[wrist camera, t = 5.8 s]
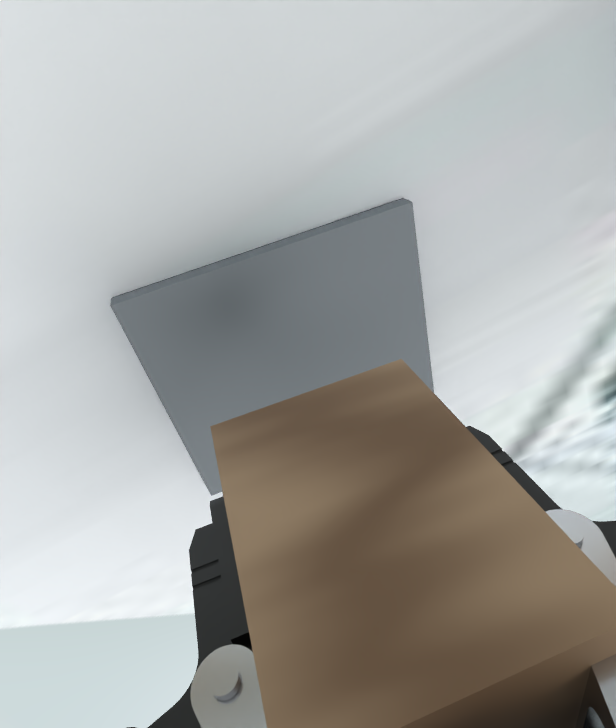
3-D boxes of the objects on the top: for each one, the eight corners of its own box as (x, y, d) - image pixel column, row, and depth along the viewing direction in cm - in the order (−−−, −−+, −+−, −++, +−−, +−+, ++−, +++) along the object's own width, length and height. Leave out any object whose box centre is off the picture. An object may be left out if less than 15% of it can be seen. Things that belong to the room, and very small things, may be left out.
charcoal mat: (403, 198, 25) (412, 202, 25) (428, 397, 33) (435, 405, 32) (111, 297, 24) (110, 305, 23) (209, 484, 31) (211, 495, 30)
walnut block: (401, 358, 12) (642, 615, 6) (417, 491, 15) (594, 755, 9) (210, 426, 11) (277, 783, 6) (263, 551, 14) (347, 879, 8)
